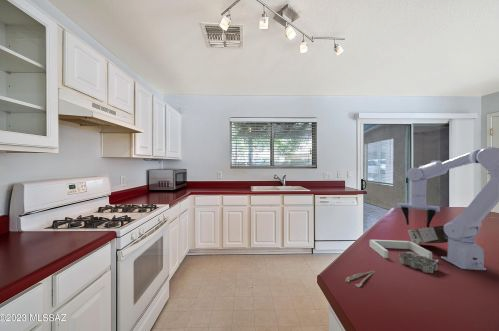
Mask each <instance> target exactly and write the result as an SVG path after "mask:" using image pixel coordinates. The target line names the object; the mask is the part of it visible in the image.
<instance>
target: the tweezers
mask: <svg viewBox="0 0 499 331" xmlns="http://www.w3.org/2000/svg"><path fill="white" fill-rule="evenodd" d="M375 272H376V271H375V269H374V270H370V271H367V272H359V273H355V274H352V275H351V276H347V277H346V278H345V282H347V283H350V281H352V280H355V279H359V278H361V277H363V276H365V275H367V276H366V277H365V278H363V279H362V280H361V281H360V283H355V284H354V286H355V287H357V288H361V287H362V285H363V284H364V283H365V281H366V280H367V279H369V278H370V277H371V276H372V275H373V274H374V273H375Z"/></svg>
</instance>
